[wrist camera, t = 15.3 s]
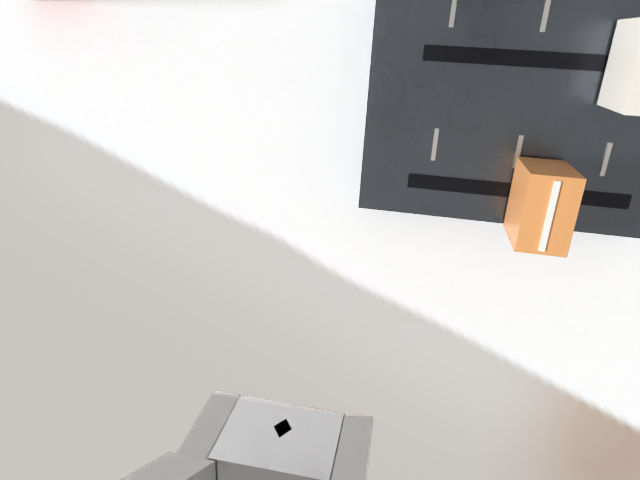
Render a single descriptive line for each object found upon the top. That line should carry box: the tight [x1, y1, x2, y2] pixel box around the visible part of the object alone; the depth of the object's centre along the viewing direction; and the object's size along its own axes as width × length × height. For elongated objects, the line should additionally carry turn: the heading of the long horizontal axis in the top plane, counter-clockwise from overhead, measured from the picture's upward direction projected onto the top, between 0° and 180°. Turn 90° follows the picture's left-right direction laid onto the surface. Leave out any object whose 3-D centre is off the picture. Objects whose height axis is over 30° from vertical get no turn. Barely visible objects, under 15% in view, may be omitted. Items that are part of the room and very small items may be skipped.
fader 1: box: [503, 156, 587, 257], centre depth 26 cm, size 4×2×4 cm, turn 177°
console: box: [359, 0, 640, 238], centre depth 28 cm, size 14×16×2 cm
